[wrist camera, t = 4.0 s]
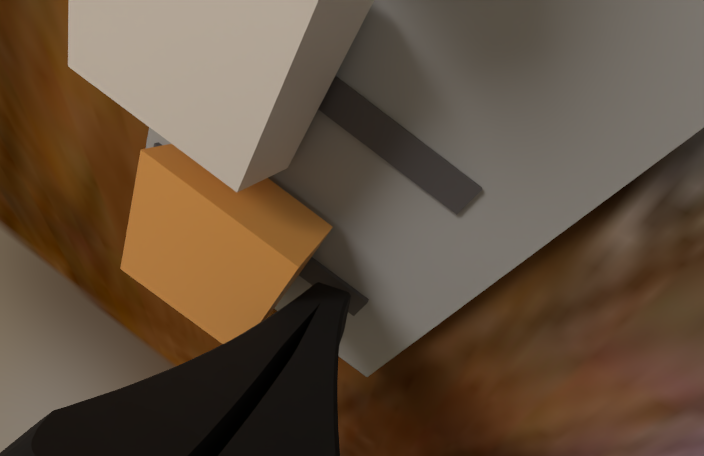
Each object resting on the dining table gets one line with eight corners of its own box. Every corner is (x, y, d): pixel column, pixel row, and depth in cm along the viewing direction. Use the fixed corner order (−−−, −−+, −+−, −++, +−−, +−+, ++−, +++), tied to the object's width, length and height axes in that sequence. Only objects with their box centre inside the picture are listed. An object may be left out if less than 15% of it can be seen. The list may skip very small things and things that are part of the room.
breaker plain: (377, -6, 6) (340, -54, 4) (287, 167, 9) (237, 192, 7) (199, -143, 6) (70, -262, 4) (160, 71, 9) (68, 66, 7)
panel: (906, -62, 5) (1023, -101, 4) (372, 359, 14) (365, 380, 13) (322, -540, 5) (287, -713, 4) (155, 198, 14) (131, 207, 12)
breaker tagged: (333, 226, 9) (298, 267, 7) (275, 307, 12) (237, 354, 10) (211, 135, 9) (141, 149, 7) (179, 236, 12) (120, 268, 10)
